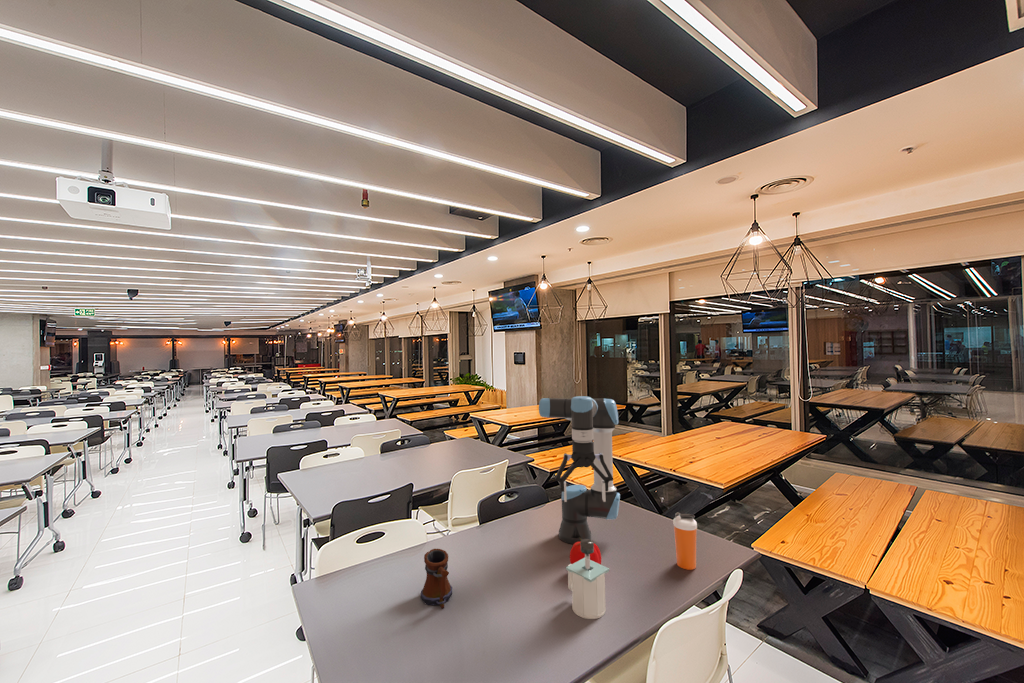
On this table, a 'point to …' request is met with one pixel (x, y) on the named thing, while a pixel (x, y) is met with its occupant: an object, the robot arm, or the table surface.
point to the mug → (436, 578)
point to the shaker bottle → (685, 540)
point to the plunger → (587, 551)
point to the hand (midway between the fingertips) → (584, 500)
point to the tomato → (578, 555)
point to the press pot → (587, 589)
